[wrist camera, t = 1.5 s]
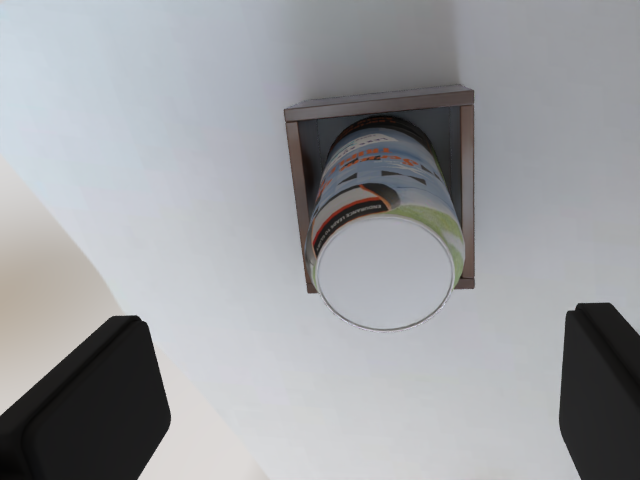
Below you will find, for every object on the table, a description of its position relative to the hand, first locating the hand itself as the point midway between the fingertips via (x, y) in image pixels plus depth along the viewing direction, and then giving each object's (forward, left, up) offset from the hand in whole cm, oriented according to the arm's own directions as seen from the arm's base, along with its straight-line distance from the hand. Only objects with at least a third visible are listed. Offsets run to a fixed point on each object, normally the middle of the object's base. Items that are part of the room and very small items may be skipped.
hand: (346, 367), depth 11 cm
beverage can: (0, 0, -18) cm, 18 cm away
